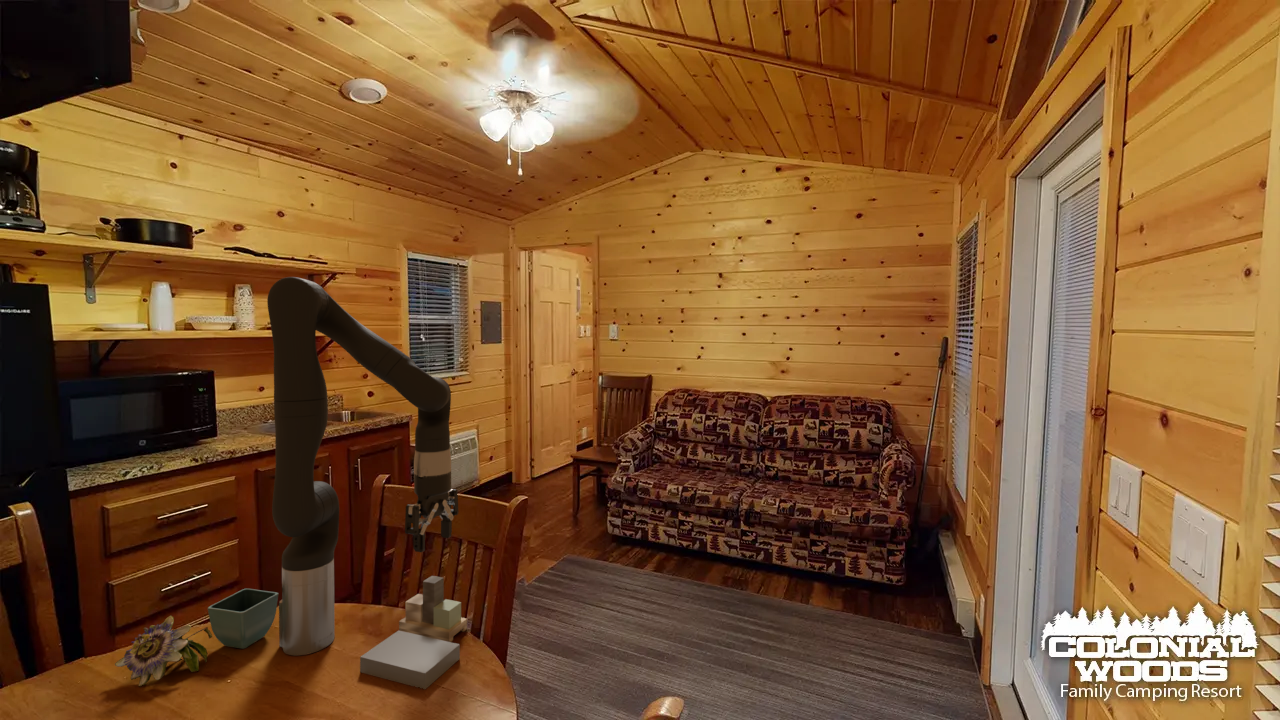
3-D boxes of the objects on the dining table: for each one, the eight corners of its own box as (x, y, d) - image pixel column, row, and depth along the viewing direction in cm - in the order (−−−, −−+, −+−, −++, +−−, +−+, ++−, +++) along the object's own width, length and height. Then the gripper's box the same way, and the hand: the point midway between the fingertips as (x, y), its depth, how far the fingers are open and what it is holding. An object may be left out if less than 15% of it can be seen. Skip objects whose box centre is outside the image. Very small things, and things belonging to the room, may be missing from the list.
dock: (360, 672, 104) (360, 656, 104) (398, 644, 114) (398, 630, 114) (425, 689, 100) (425, 673, 100) (459, 658, 109) (459, 644, 109)
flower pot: (243, 656, 109) (242, 612, 108) (206, 650, 111) (205, 607, 110) (280, 633, 117) (279, 592, 117) (246, 628, 119) (245, 587, 119)
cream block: (405, 619, 119) (405, 601, 119) (418, 611, 123) (418, 593, 123) (420, 623, 118) (420, 604, 118) (433, 614, 122) (433, 596, 122)
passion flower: (146, 712, 100) (94, 669, 97) (186, 666, 111) (140, 626, 108) (196, 679, 100) (145, 635, 97) (231, 637, 110) (187, 595, 107)
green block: (433, 625, 117) (433, 607, 117) (445, 616, 121) (445, 599, 121) (449, 629, 116) (449, 610, 116) (461, 620, 120) (461, 602, 120)
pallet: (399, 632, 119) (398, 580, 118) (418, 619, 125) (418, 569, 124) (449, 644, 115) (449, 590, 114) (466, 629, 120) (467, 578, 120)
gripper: (440, 461, 126) (440, 531, 127) (394, 476, 113) (395, 554, 113) (467, 464, 124) (468, 535, 124) (424, 479, 110) (425, 559, 111)
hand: (433, 544), depth 119 cm, fingers open, 8 cm apart
